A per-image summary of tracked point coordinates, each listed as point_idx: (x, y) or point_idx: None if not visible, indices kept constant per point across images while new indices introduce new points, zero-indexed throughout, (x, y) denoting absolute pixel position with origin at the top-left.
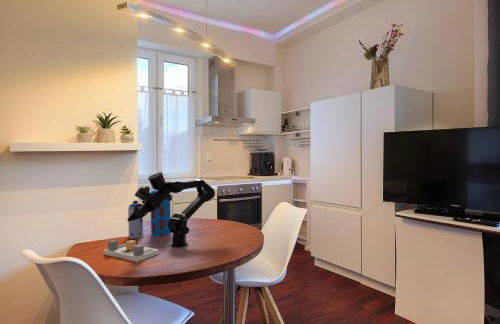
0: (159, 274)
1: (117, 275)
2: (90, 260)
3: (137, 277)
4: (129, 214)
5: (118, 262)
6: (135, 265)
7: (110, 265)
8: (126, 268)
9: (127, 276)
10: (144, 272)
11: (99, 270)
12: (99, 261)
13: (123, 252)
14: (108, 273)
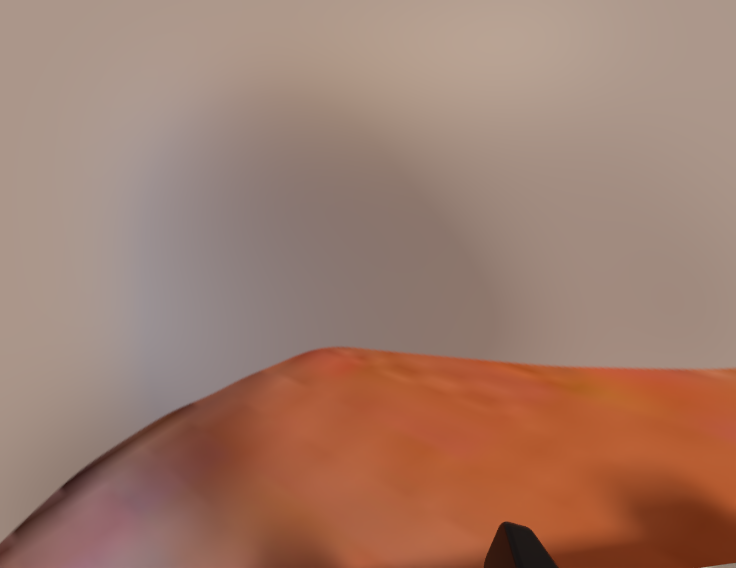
0: (18, 551)
1: (247, 387)
2: (685, 388)
3: (126, 440)
4: None
5: (455, 508)
6: (275, 557)
7: (436, 435)
8: (286, 475)
9: (186, 413)
10: (128, 510)
11: (403, 355)
12: (601, 422)
13: None
14: (315, 369)
